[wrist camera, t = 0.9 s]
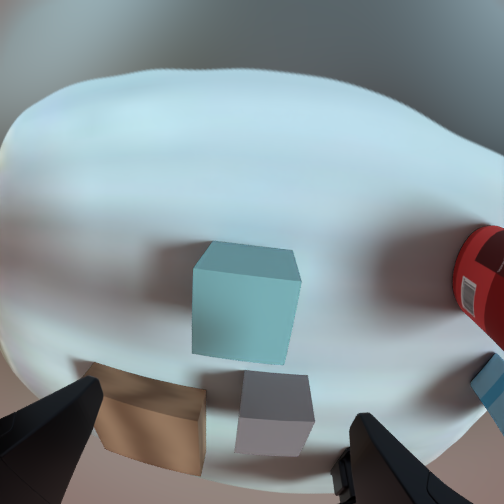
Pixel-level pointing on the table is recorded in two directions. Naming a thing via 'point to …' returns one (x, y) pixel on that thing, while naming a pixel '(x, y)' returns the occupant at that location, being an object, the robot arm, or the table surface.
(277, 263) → the teal cube
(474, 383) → the data package
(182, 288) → the table surface
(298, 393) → the gray cube
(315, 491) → the table surface
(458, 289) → the canned food
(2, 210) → the table surface
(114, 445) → the walnut base block
